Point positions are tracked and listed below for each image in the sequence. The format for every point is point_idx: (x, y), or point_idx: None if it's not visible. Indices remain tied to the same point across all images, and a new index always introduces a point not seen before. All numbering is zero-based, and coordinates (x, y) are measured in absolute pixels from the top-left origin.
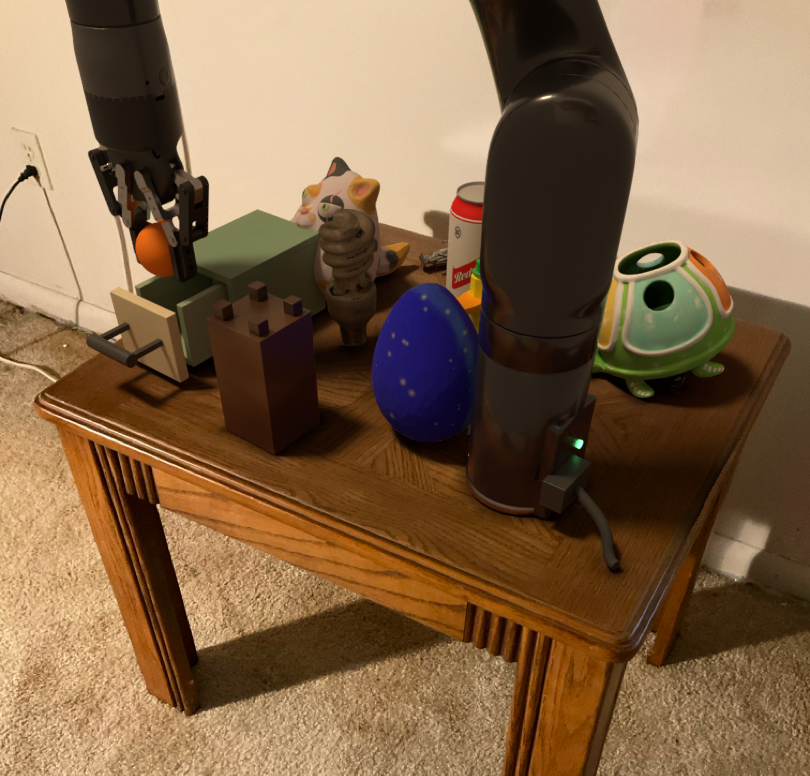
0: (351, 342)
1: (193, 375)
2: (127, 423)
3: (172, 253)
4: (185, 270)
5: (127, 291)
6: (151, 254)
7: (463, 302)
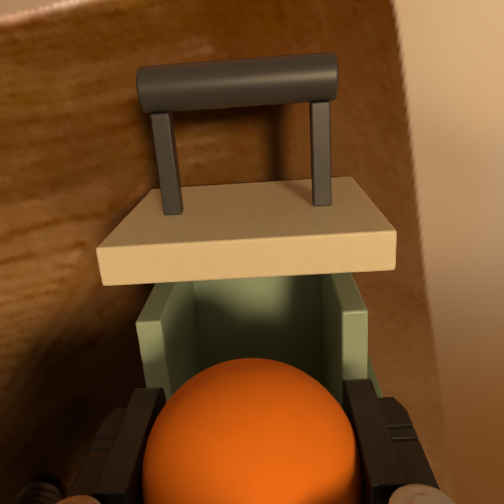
0: (22, 492)
1: None
2: (132, 7)
3: (115, 466)
4: (97, 431)
5: (342, 269)
6: (190, 413)
7: None
